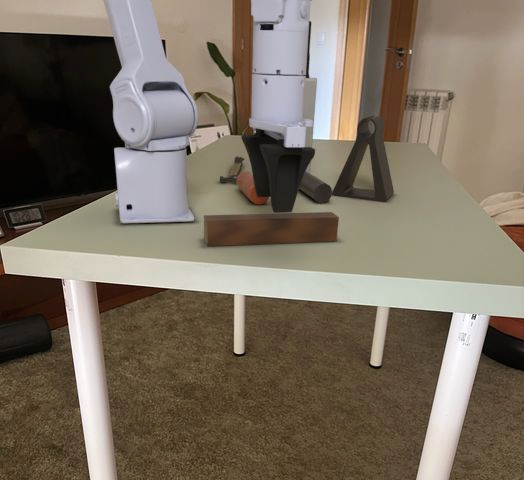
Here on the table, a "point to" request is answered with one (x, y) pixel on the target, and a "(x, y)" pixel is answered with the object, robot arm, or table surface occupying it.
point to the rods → (308, 185)
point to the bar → (270, 228)
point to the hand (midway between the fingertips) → (273, 203)
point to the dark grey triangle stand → (378, 162)
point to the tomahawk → (233, 170)
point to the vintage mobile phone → (309, 100)
